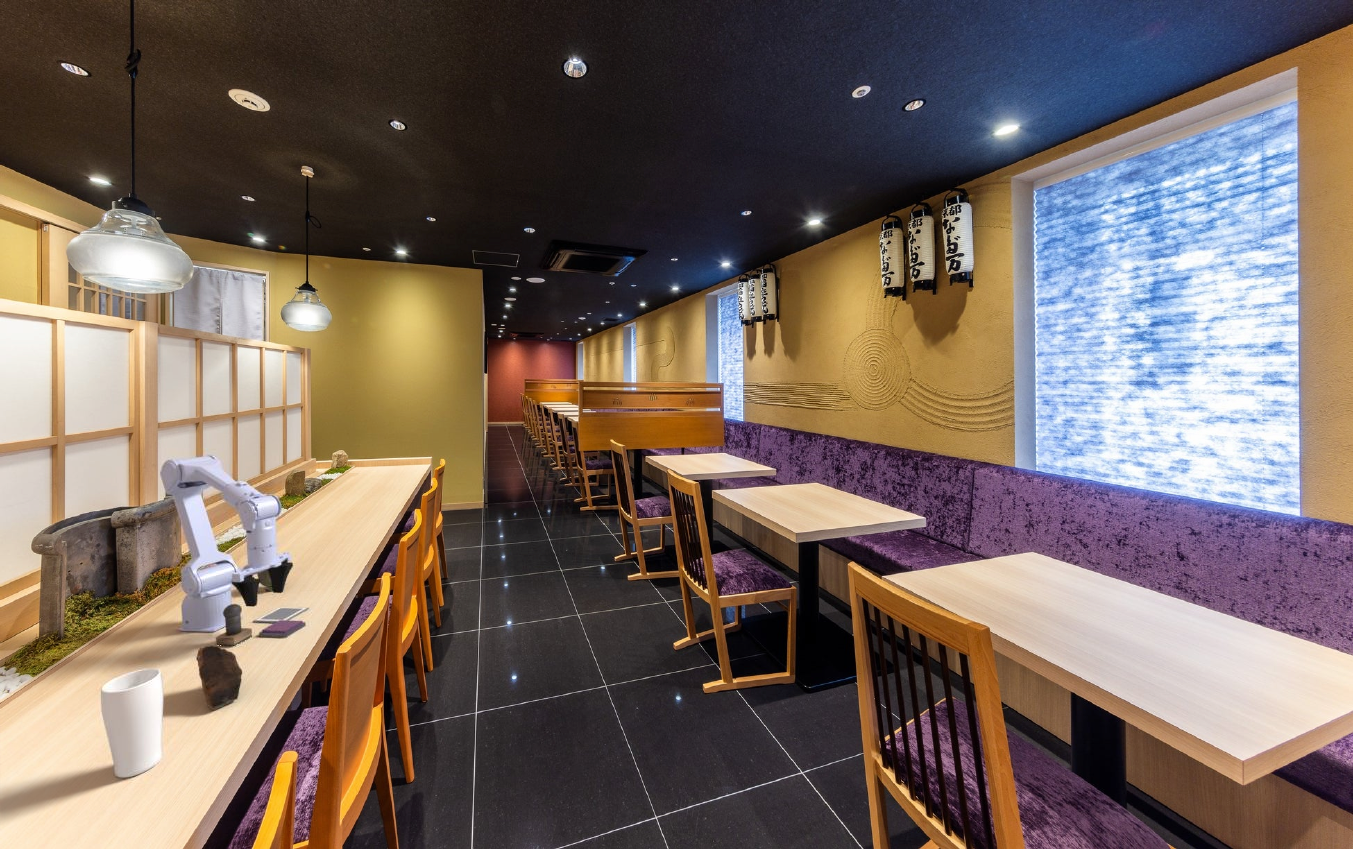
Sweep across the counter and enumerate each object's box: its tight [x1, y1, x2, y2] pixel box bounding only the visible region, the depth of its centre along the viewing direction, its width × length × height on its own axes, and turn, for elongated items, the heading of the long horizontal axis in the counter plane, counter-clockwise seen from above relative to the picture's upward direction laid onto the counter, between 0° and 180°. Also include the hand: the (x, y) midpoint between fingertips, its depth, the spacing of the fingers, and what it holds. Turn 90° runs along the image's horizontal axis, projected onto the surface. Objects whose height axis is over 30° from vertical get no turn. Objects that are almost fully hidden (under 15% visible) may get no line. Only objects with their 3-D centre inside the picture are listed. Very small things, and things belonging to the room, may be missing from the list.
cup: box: [256, 570, 273, 592], centre depth 151 cm, size 8×7×8 cm
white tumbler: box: [100, 668, 165, 779], centre depth 80 cm, size 7×7×15 cm
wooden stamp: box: [215, 603, 253, 647], centre depth 120 cm, size 5×5×9 cm
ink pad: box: [258, 620, 307, 639], centre depth 126 cm, size 7×6×2 cm
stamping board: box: [252, 606, 310, 624], centre depth 134 cm, size 8×8×1 cm
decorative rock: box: [195, 645, 243, 711], centre depth 99 cm, size 12×6×11 cm, turn 49°
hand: (265, 598), depth 123 cm, fingers open, 7 cm apart
